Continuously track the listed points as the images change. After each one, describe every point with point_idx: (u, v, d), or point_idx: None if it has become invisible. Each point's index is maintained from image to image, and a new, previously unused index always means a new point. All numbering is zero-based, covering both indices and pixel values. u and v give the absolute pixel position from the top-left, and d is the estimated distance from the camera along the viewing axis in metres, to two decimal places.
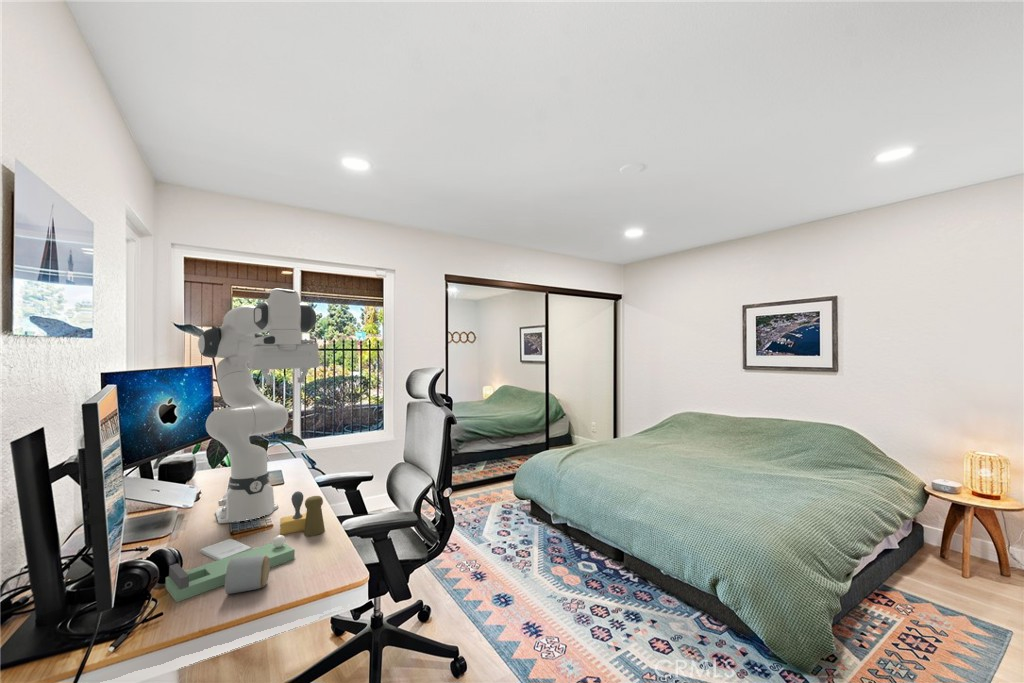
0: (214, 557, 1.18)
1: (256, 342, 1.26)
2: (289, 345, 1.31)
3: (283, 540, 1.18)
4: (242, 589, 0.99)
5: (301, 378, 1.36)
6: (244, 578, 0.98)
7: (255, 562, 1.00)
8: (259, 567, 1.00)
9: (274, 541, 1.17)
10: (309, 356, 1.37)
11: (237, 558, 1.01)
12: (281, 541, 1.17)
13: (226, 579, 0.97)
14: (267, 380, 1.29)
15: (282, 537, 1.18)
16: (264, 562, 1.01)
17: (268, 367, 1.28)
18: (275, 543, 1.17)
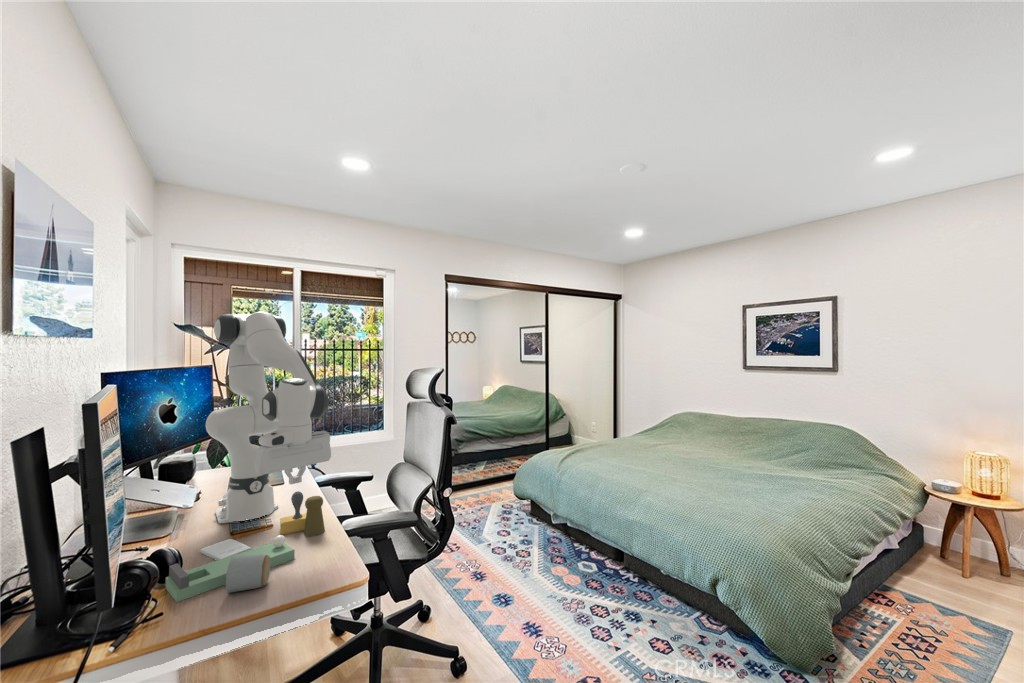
0: (214, 557, 1.18)
1: (263, 444, 1.15)
2: (299, 442, 1.21)
3: (283, 540, 1.18)
4: (243, 588, 0.99)
5: (298, 478, 1.22)
6: (245, 577, 0.99)
7: (255, 561, 1.01)
8: (260, 566, 1.01)
9: (274, 541, 1.17)
10: (320, 449, 1.26)
11: (238, 557, 1.02)
12: (281, 541, 1.17)
13: (227, 578, 0.98)
14: (290, 479, 1.21)
15: (282, 537, 1.18)
16: (265, 561, 1.02)
17: (276, 469, 1.17)
18: (275, 543, 1.17)
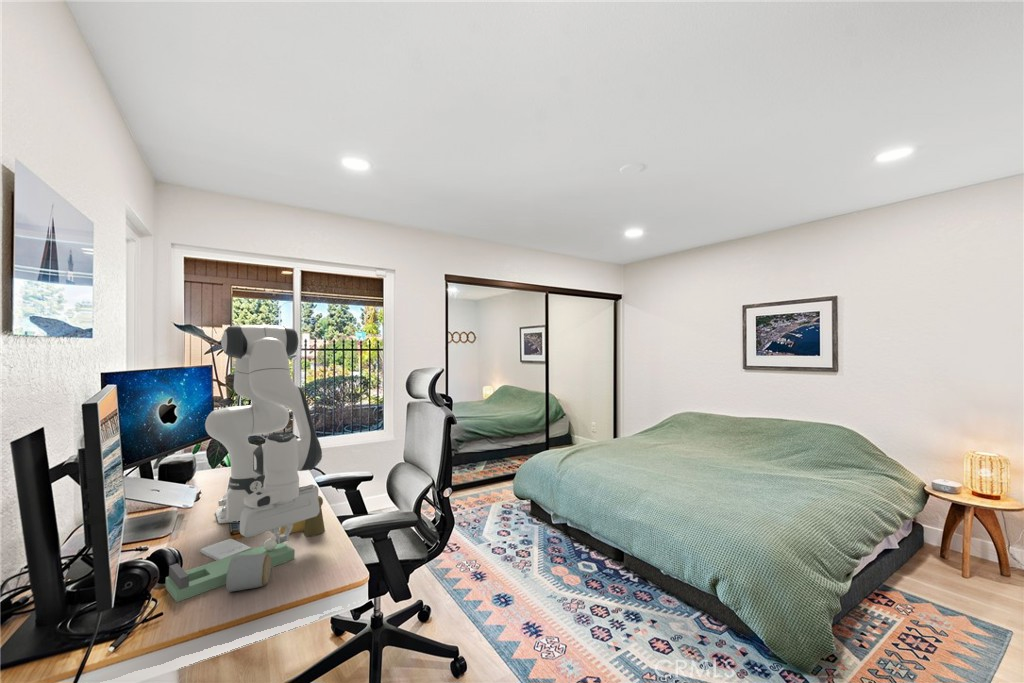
0: (214, 557, 1.18)
1: (249, 505, 1.12)
2: (286, 501, 1.17)
3: (271, 543, 1.15)
4: (243, 587, 0.99)
5: (284, 537, 1.18)
6: (246, 576, 0.99)
7: (256, 561, 1.01)
8: (261, 565, 1.01)
9: (267, 550, 1.15)
10: (308, 505, 1.23)
11: (239, 556, 1.02)
12: (271, 546, 1.15)
13: (228, 577, 0.98)
14: (277, 539, 1.17)
15: (267, 544, 1.15)
16: (265, 560, 1.02)
17: (262, 531, 1.13)
18: (270, 550, 1.16)
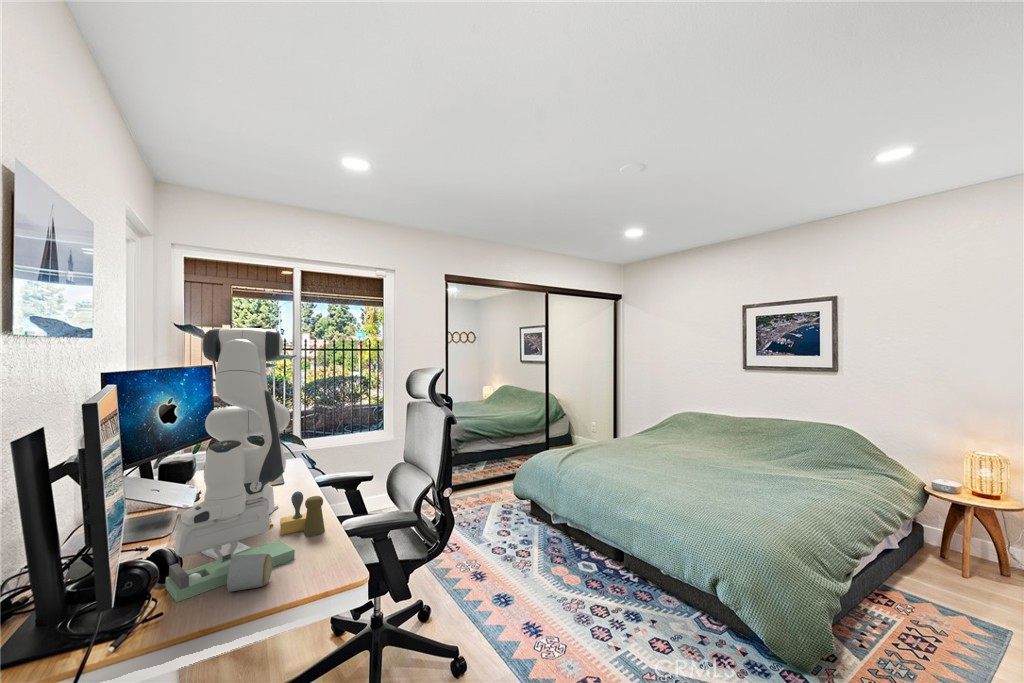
0: (214, 557, 1.18)
1: (184, 521, 1.01)
2: None
3: None
4: (244, 587, 1.00)
5: (228, 555, 1.08)
6: (246, 576, 0.99)
7: (257, 561, 1.01)
8: (261, 565, 1.01)
9: None
10: (256, 520, 1.12)
11: (239, 556, 1.02)
12: None
13: (228, 577, 0.98)
14: (219, 558, 1.07)
15: (196, 576, 1.02)
16: (266, 560, 1.02)
17: (200, 550, 1.03)
18: None
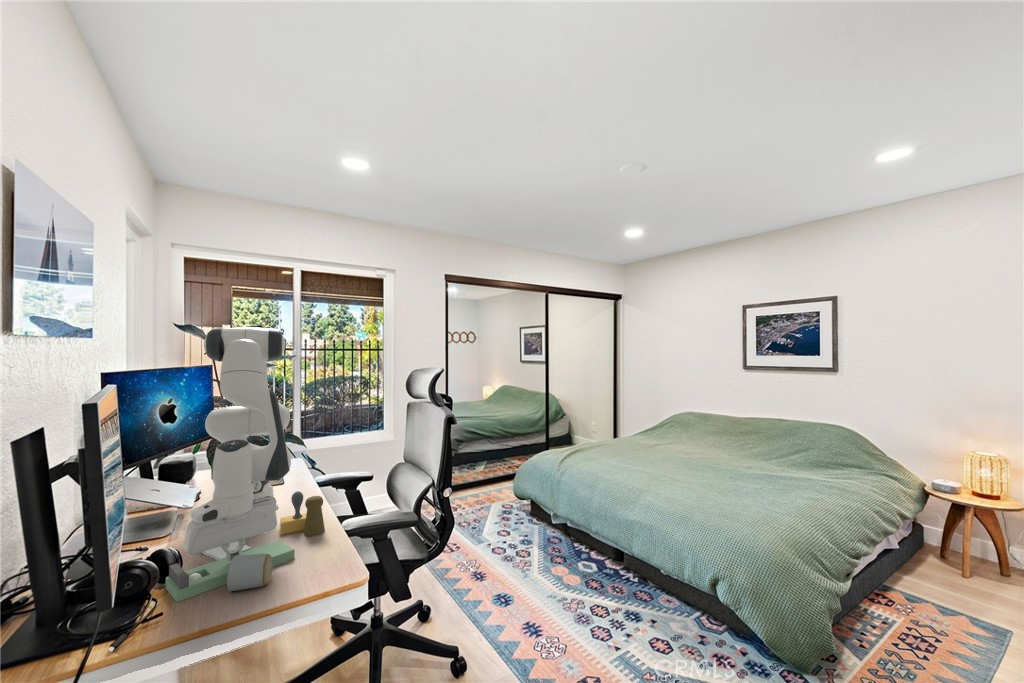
0: (214, 557, 1.18)
1: (193, 520, 1.03)
2: (237, 515, 1.08)
3: None
4: (244, 587, 1.00)
5: (236, 553, 1.10)
6: (246, 576, 0.99)
7: (257, 561, 1.01)
8: (261, 565, 1.01)
9: None
10: (263, 519, 1.14)
11: (239, 556, 1.02)
12: None
13: (228, 577, 0.98)
14: (227, 555, 1.09)
15: (196, 576, 1.02)
16: (266, 560, 1.02)
17: (209, 547, 1.05)
18: None
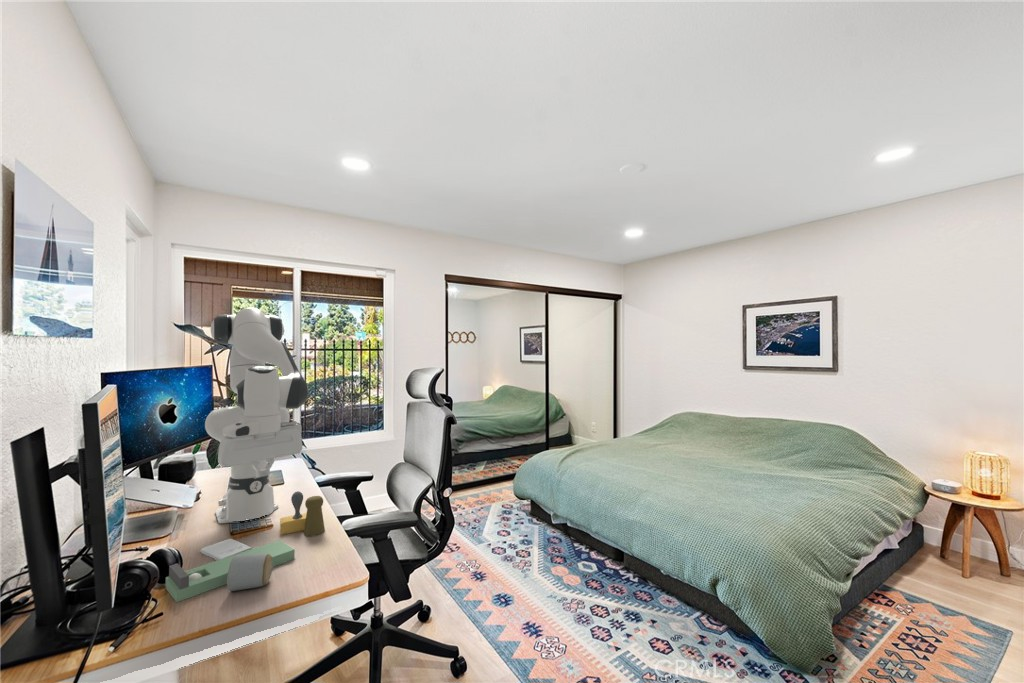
0: (214, 557, 1.18)
1: (227, 434, 1.09)
2: (266, 433, 1.14)
3: None
4: (244, 587, 1.00)
5: (265, 471, 1.16)
6: (246, 576, 0.99)
7: (257, 560, 1.01)
8: (261, 565, 1.01)
9: None
10: (290, 441, 1.20)
11: (240, 556, 1.02)
12: None
13: (228, 576, 0.98)
14: (257, 472, 1.15)
15: (196, 576, 1.03)
16: (266, 560, 1.02)
17: (241, 462, 1.11)
18: None
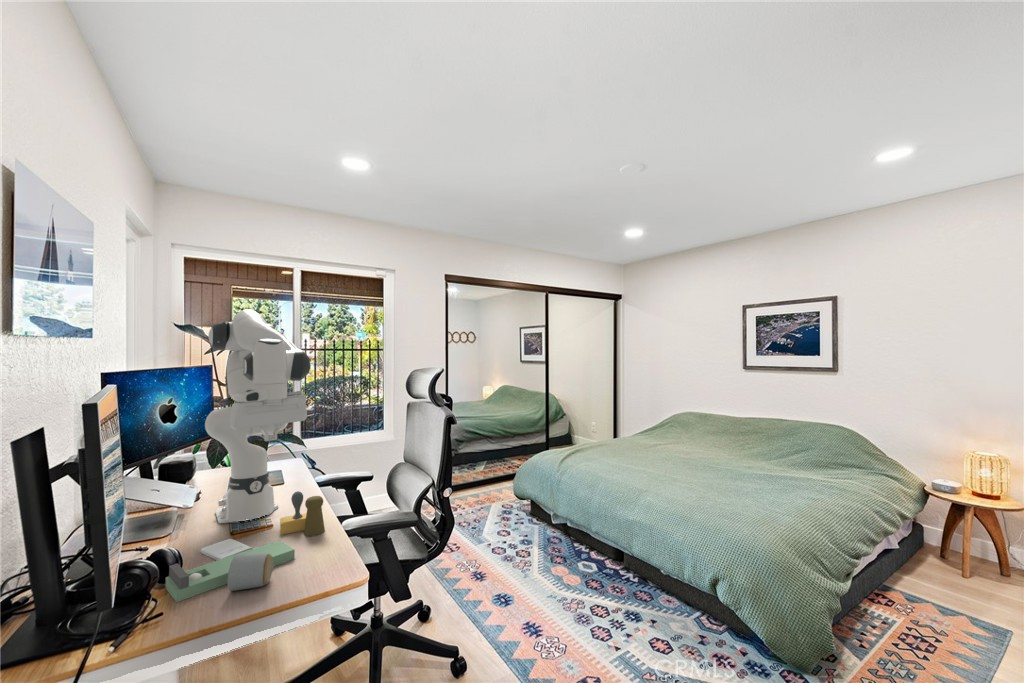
0: (214, 557, 1.18)
1: (238, 399, 1.18)
2: (274, 400, 1.23)
3: None
4: (245, 586, 1.00)
5: (273, 435, 1.25)
6: (247, 576, 0.99)
7: (257, 560, 1.01)
8: (261, 565, 1.01)
9: None
10: (296, 409, 1.29)
11: (240, 556, 1.02)
12: None
13: (229, 576, 0.98)
14: (265, 436, 1.24)
15: (197, 576, 1.03)
16: (266, 560, 1.02)
17: (251, 425, 1.20)
18: None
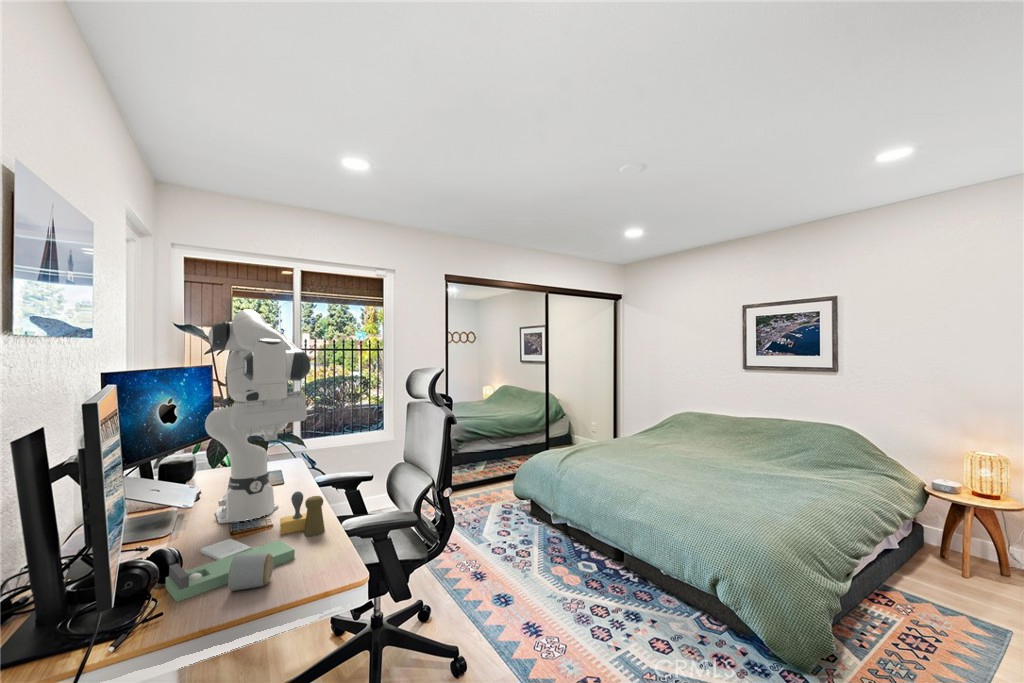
0: (214, 557, 1.18)
1: (238, 399, 1.18)
2: (274, 400, 1.23)
3: None
4: (245, 586, 1.00)
5: (273, 435, 1.25)
6: (247, 575, 0.99)
7: (257, 560, 1.02)
8: (262, 565, 1.01)
9: None
10: (296, 409, 1.29)
11: (240, 555, 1.02)
12: None
13: (229, 576, 0.98)
14: (265, 436, 1.24)
15: (197, 576, 1.03)
16: (267, 560, 1.02)
17: (251, 425, 1.20)
18: None
